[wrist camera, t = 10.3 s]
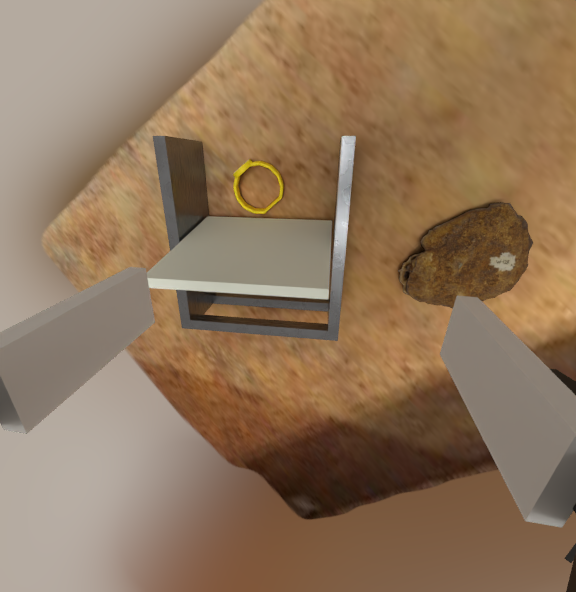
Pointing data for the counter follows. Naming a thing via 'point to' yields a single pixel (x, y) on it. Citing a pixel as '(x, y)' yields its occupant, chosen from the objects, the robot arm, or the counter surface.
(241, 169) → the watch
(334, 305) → the stand
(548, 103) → the counter surface
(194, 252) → the trapdoor
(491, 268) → the decorative rock
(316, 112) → the counter surface
